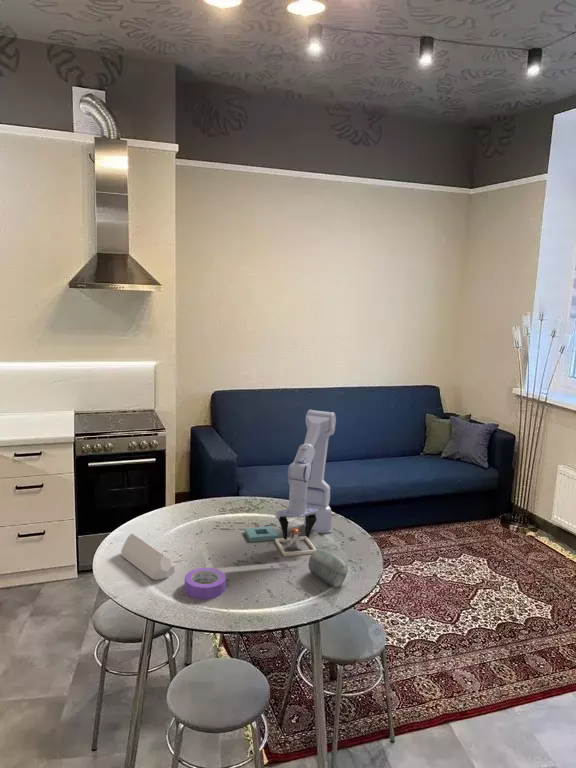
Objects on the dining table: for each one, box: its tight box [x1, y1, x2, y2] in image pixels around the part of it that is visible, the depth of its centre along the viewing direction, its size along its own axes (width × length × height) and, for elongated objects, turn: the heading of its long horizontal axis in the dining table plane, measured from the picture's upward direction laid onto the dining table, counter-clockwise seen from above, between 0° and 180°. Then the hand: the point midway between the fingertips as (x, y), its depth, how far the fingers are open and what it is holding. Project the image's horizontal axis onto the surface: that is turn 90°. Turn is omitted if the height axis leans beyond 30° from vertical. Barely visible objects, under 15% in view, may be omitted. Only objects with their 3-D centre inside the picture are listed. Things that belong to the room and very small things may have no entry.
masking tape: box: [183, 567, 226, 600], centre depth 169 cm, size 12×12×4 cm
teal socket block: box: [244, 525, 280, 543], centre depth 203 cm, size 10×8×3 cm
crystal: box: [120, 533, 175, 581], centre depth 181 cm, size 7×7×24 cm
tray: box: [274, 535, 318, 557], centre depth 195 cm, size 11×11×2 cm
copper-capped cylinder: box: [289, 527, 301, 550], centre depth 195 cm, size 3×3×7 cm
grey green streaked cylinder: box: [308, 548, 348, 587], centre depth 177 cm, size 14×10×10 cm
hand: (296, 537), depth 195 cm, fingers open, 7 cm apart
